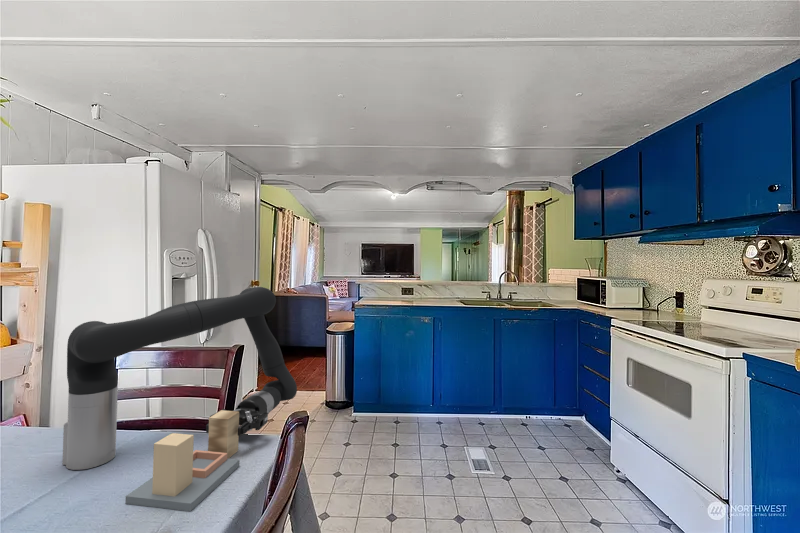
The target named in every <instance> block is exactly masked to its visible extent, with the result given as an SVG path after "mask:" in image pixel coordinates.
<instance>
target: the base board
mask: <svg viewBox="0 0 800 533" xmlns="http://www.w3.org/2000/svg"><path fill="white" fill-rule="evenodd" d="M194 440H195V435H194V434H185V433H175V432H174V433H173V432H172V433H170V434H168V435H167V436H165V437H163V438H161V439H160V440H158V441H156V442H155V443H153V457H152V458H153V461H152V477H151V478H150V479H148V480H147V481H146V482H144V483H142V484H141V485H140V486H138V487H137V488H135V489H134V490H132V491H130V493H128V494H126V496H125V505H132V506H141V507H150V508H159V509H166V510H167V509H168V510H174V511H175V510H176V511H185V512H192V511H193V510H194V509H195V508H196V507H197V506H198V505H200V504H201V502H202V501H203V500H205V499H206V498H207V497H208V496H209V495H210V494H211V493H212V492H213V491H214V490H215V489H217V488H218V487H219V486H220V485H221V484H222V483H223V482H224V481H226V479H227V478H228V477H229V476H230V475H232V473H234V472H235V471H236V470H237V469H238V468H239V467H240V464H241V463H240V459H236V458H229V459H228V458H227V453H222V452H211V451H208V450H199V449H195V450H194Z"/></svg>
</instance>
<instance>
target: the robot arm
mask: <svg viewBox="0 0 800 533" xmlns="http://www.w3.org/2000/svg"><path fill="white" fill-rule="evenodd" d="M276 303H277V298H276V295H275V293H274V292H273V291H272V290H270V289H269V288H266V287H264V286H257V287H256V286H255V287H247V288H245V289H243V290H242V291H241V292H240V293H239V294H236V295H233V296H232V295H231V296H225V297H214V298H207V299H206V298H205V299H198V300H193V301H188V302H183V303H182V302H181V303H179V304H175V305H172V306H169V307H165V308H163V309H160V310H158V311H156V312H154V313H152V314H150V315H146V316H145V317H142V318H137V319H132V320H126V321H121V322H120V321H119V322H112V323H106V322H103V321H99V320H98V321H97V320H92V321H91V320H90V321H87V322H83V323H81V324H79V325H77V326H76V327H75V328H74V329H73V330H72V331H71V332H70V334H69V336H68V340H67V345H66V346H67V348H66V349H67V350H66V377H67V385H68V397H67V400H68V401H67V403H68V405H67V422H65V423H64V424H63V432H62V436H63V438H62V462H61V464H62V466H65V468H66V469H69V470H72V471H73V470H74V471H79V470H80V471H81V470H87V469H93V468H95V467H99V466H101V465H103V464H106V463H108V462H110V461H112V460H113V459H114V458H115V457H116V450H117V424H118V423H117V422H118V421H117V420H118V419H117V418H118V417H117V416H118V393H119V391H118V389H119V388H118V386H119V375H118V373H117V369H116V363H115V361H116V358H117V357H121V356H123V355H126V354H129V353H132V352H134V351H136V350H139V349H141V348H144V347H147V346H152V345H156V344H160V343H165V342H169V341H172V340H178V339H181V338H186V337H189V336H193V335H196V334H199V333H203V332H205V331H209V330H212V329H215V328H218V327H220V326H223V325H226V324H229V323H231V322H234V321H237V320H241V319H244V322H245V323H246V326H247V328H248V331H249V332H250V334H251V337H252V339H253V343H254V345H255V346H256V350H257V353H258V356H259V361H260V363H261V368H262V371H263V373H264V375H265V376H266V377H270V378H275V380H272V381H270V382H267V383H265V384H264V386H263V388H262V389H260V390H259V391H258V392H256V393H255V392H254V393H253V394H251V395H249V396H248V397H247V398H245V399H244V400H242V401H240V402H239V403H238V405H237V406H236V408H235V409H233V411H238V412H239V427H238V436H239V437H241V436H243V435H245V434H246V433H247V432H250V431H253V429H254V430H255V431H259V430H261V429H262V428H263V427H264V426H265V425H266V424H267V423H268V420H269V419H268V418H269V414H270V413H271V412H272V411H273V410H274V409H275V408H277V407H278V405H279V404H280V402H284V401H285V402H286V401H289V400H293V399H294V398H295V397H296V396H297V392H298V386H297V383H296V380H295V378H294V377H293V376H292V374H291V372H290V370H289V369H288V367H287V366H286V364H285V359H284V357H283V353H282V350H281V347H280V345H279V343H278V341H277V339H276V338H275V336H274V335H273V333H272V332H271V329H270V328H269V325H268V323H267V320H266V318H265V315H267V314H269V313H270V312H271V311H273V309H274V308H275V305H276ZM276 379H277V380H276ZM221 410H225V411H227V410H226V408H223V409H221ZM221 410H219V411H221ZM219 411H217V412H215V413H213V414H211V415H209V417H211V416H213V415H214V414H216V413H218V412H219ZM205 432H206V434H209V422H207V424H206V425H205Z"/></svg>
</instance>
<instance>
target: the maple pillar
mask: <svg viewBox="0 0 800 533" xmlns="http://www.w3.org/2000/svg"><path fill="white" fill-rule="evenodd" d="M217 412H218V411H217ZM217 412H215V413H216V414H215V413H213V414H214V415H213V414H212V415H213V416H211V415H210V416H211V417H210V416H209V417H208V423H209V433H208V441H207V444H208V445H207V448H208V449H207V451H211V452H222V453H227V458H228V459H231V458H232V456H233V455H235V454H236V453H237V452H238V451H239V437H240V436H238V427H239V426H240V425H239V412H238V411H234V410H226V411H225V410H222V409H221V411H220V410H219V412H218V413H217Z"/></svg>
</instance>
